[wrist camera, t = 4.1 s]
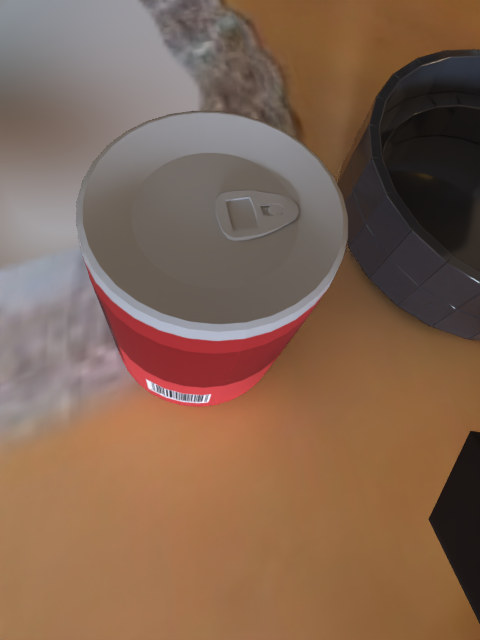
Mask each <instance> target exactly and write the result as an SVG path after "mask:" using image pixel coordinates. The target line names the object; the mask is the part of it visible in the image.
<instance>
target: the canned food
mask: <svg viewBox="0 0 480 640" xmlns="http://www.w3.org/2000/svg"><path fill="white" fill-rule="evenodd" d="M76 215H77V216H76V218H77V219H76V226H77V230H78V239H79V243H80V247H81V251H82V255H83V259H84V262H85V264H86V267H87V270H88V273H89V277H90V280H91V282H92V285H93V287H94V290H95V292H96V295H97V297H98V300H99V302H100V305H101V308H102V310H103V313H104V315H105V318H106V320H107V323H108V325H109V328H110V330H111V333H112V335H113V338H114V340H115V343H116V345H117V348H118V350H119V353H120V355H121V358H122V360H123V362H124V364H125V366H126V368H127V370H128V371H129V373H130V374H131V375H132V376H133V377H134V379H135V380H136V381H137V382H138V383H139V384H140V385H141V386H142V387H144V388H145V389H146V390H148V391H149V392H150V393H152V394H153V395H155V396H157V397H159V398H161V399H163V400H165V401H169V402H172V403H176V404H179V405H186V406H198V407H199V406H209V405H216V404H220V403H223V402H226V401H229V400H232V399H234V398H236V397H238V396H240V395H242V394H243V393H245V392H247V391H248V390H249V389H250V388H252V387H253V386H254V385H255V384H256V383H258V381H259V380H260V379H261V378H262V377H263V375H264V374H265V373H266V372H267V370H268V369H269V368H270V366H271V365H272V364H273V362H274V361H275V360H276V359H277V357H278V356H279V355H280V353H281V352H282V351H283V349H284V348H285V347H286V345H287V344H288V343H289V341H290V340H291V339H292V337H293V336H294V335H295V333H296V332H297V331H298V329H299V328H300V327H301V325H302V324H303V323H304V321H305V320H306V319H307V317H308V316H309V315H310V313H311V312H312V311H313V309H314V308H315V307H316V305H317V304H318V303H319V301H320V299H321V297H322V296H323V295H324V293H325V292H326V291H327V289H328V288H329V286H330V284H331V282H332V280H333V278H334V276H335V274H336V272H337V270H338V268H339V265H340V263H341V261H342V259H343V257H344V252H345V248H346V243H347V239H348V215H347V211H346V207H345V203H344V199H343V195H342V193H341V191H340V189H339V187H338V185H337V183H336V181H335V179H334V177H333V175H332V174H331V173H330V171H329V170H328V169H327V167H326V166H325V165H324V163H323V162H322V161H321V159H320V158H319V157H317V156H316V155H315V154H314V153H313V152H312V151H311V150H310V149H309V148H308V147H307V146H306V145H305V144H303V143H302V142H300V141H299V140H297V139H296V138H294V137H293V136H291V135H290V134H288V133H287V132H285V131H283V130H281V129H279V128H277V127H275V126H272V125H270V124H268V123H266V122H264V121H260V120H257V119H254V118H251V117H247V116H244V115H240V114H233V113H226V112H220V111H190V112H183V113H175V114H169V115H166V116H163V117H159V118H156V119H153V120H149V121H147V122H145V123H142V124H140V125H138V126H137V127H134V128H132V129H130V130H128V131H126V132H125V133H124V134H122V135H121V136H120V137H118V138H117V139H115V140H114V141H113V142H111V143H110V144H109V145H108V146H107V147H106V148H105V149H104V150H103V151H102V152H101V154H100V155H99V156H98V157H97V158H96V159H95V160H94V161H93V163H92V165H91V167H90V168H89V170H88V172H87V174H86V176H85V177H84V179H83V181H82V185H81V189H80V192H79V196H78V199H77V214H76Z"/></svg>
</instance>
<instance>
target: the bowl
mask: <svg viewBox="0 0 480 640" xmlns="http://www.w3.org/2000/svg"><path fill="white" fill-rule="evenodd" d="M337 185H338V187H339V189H340V191H341V193H342V195H343V199H344V203H345V207H346V211H347V215H348V239H347V243H348V246H349V249H350V250H351V252H352V253H353V255H354V256H355V258H356V259H357V261H358V263H359V264H360V266H361V267H362V269H363V270H364V272H365V273H366V275H367V276H368V278H369V279H370V280H371V281H372V282H373V283H374V284H375V285H376V286H377V287H378V288H379V289H380V290H381V291H382V292H383V293H384V294H385V295H386V296H387V297H389V298H390V299H391V300H392V301H393V302H394V303H395V304H396V305H397V306H398V307H400V308H401V309H403V310H405V311H406V312H408V313H410V314H411V315H413V316H414V317H416V318H418V319H419V320H421V321H422V322H424V323H426V324H427V325H429V326H432V327H434V328H437V329H440V330H443V331H445V332H448V333H451V334H454V335H457V336H460V337H463V338H466V339H469V340H480V50H476V49H472V50H446V51H441V52H437V53H434V54H430V55H427V56H423V57H420V58H417V59H415V60H414V61H412V62H411V63H409V64H407V65H406V66H404V67H403V68H401V69H400V70H398V71H397V72H395V73H394V74H393V75H392V76H391V77H390V78H389V80H388V81H387V82H386V84H385V85H384V86H383V88H382V89H381V90H380V92H379V93H378V95H377V96H376V98H375V100H374V102H373V104H372V106H371V108H370V110H369V112H368V114H367V116H366V118H365V120H364V122H363V124H362V126H361V128H360V130H359V132H358V134H357V136H356V138H355V140H354V142H353V144H352V146H351V148H350V150H349V152H348V154H347V156H346V157H345V160H344V162H343V165H342V169H341V172H340V176H339V180H338V183H337Z"/></svg>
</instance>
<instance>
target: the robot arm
mask: <svg viewBox="0 0 480 640" xmlns="http://www.w3.org/2000/svg"><path fill="white" fill-rule="evenodd" d="M429 521H430V523H431V525H432V527H433V529H434V531H435V534H436V536H437V538H438V540H439V542H440V544H441V546H442V548H443V550H444V552H445V554H446V556H447V558H448V560H449V562H450V564H451V566H452V568H453V570H454V572H455V574H456V576H457V578H458V581H459V583H460V585H461V587H462V589H463V591H464V593H465V595H466V597H467V599H468V601H469V603H470V605H471V607H472V609H473V611H474V613H475V615H476V617H477V619H478V621H479V623H480V432H474V431H470V433H469V435H468V437H467V439H466V441H465V444H464V446H463V448H462V450H461V452H460V454H459V456H458V458H457V460H456V463H455V465H454V467H453V469H452V471H451V473H450V475H449V477H448V479H447V482H446V484H445V486H444V488H443V490H442V492H441V494H440V496H439V498H438V501H437V503H436V505H435V507H434V509H433V511H432V513H431V515H430V517H429Z"/></svg>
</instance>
